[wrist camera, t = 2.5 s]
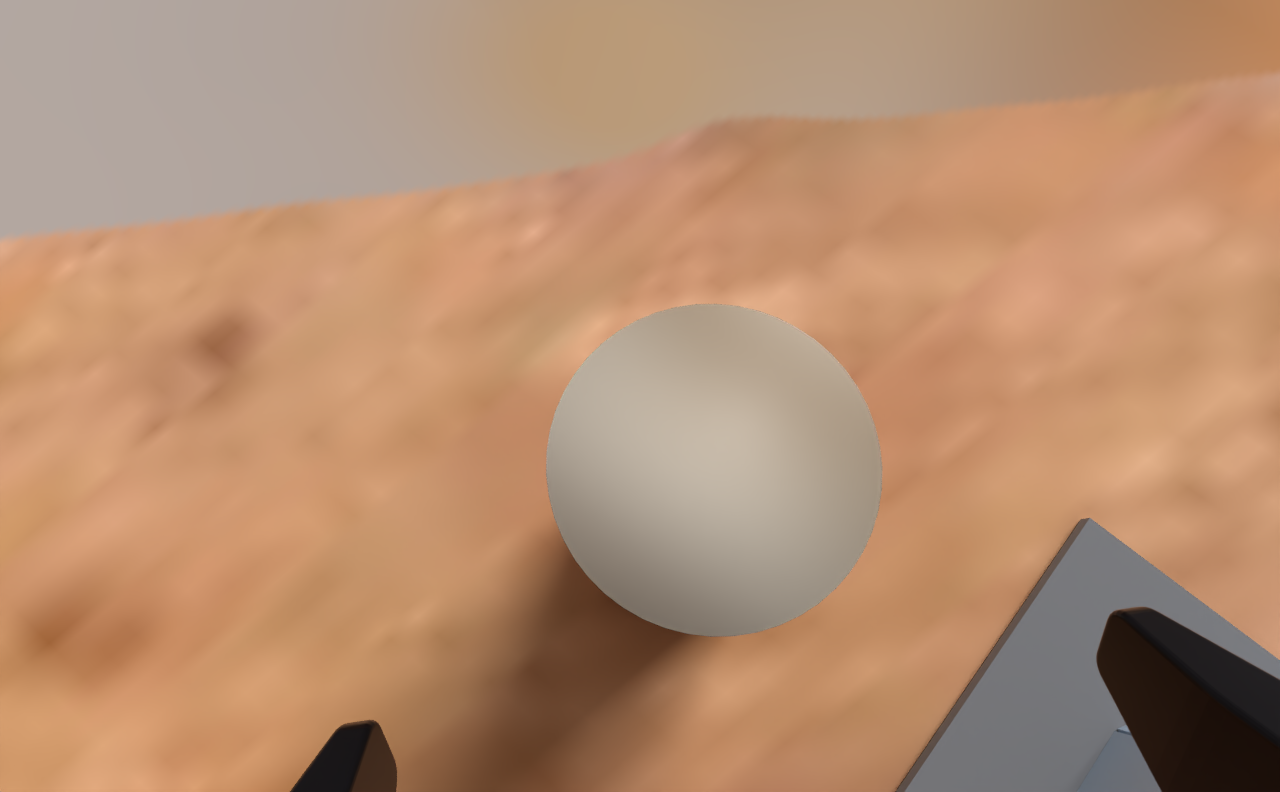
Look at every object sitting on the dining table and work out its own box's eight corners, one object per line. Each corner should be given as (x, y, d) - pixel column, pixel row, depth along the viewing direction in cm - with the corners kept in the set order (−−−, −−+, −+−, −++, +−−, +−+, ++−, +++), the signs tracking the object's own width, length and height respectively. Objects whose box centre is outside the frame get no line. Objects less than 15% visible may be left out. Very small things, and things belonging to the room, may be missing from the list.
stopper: (688, 652, 19) (742, 715, 9) (557, 537, 19) (476, 480, 10) (793, 517, 19) (948, 439, 10) (664, 412, 20) (690, 244, 10)
